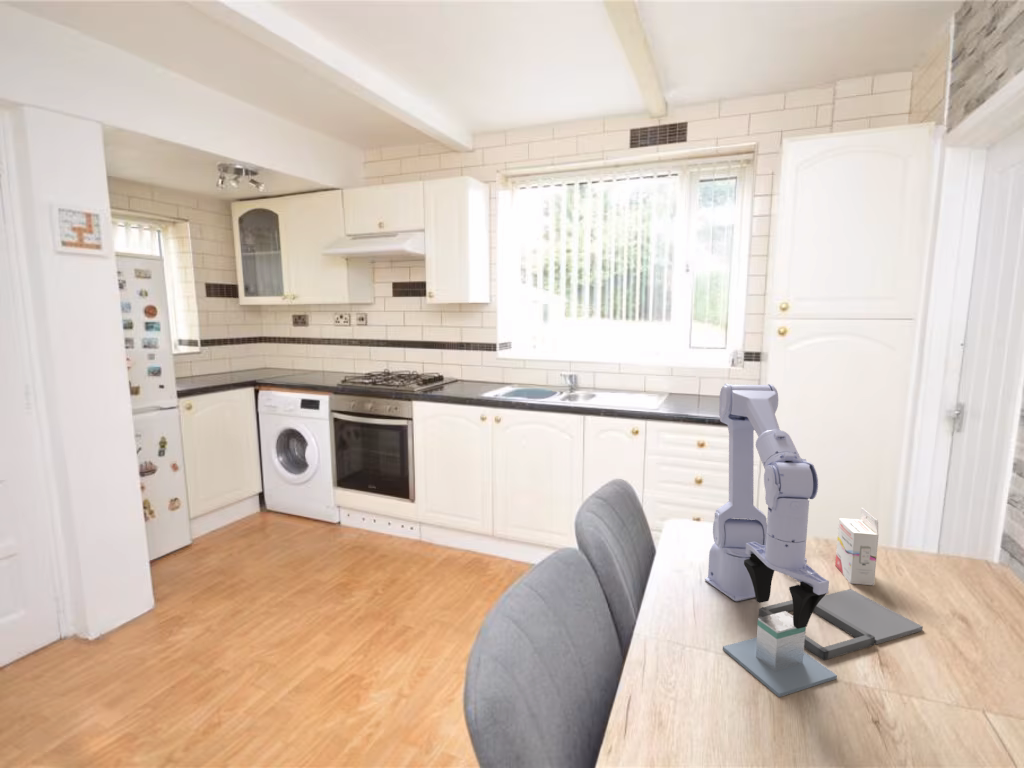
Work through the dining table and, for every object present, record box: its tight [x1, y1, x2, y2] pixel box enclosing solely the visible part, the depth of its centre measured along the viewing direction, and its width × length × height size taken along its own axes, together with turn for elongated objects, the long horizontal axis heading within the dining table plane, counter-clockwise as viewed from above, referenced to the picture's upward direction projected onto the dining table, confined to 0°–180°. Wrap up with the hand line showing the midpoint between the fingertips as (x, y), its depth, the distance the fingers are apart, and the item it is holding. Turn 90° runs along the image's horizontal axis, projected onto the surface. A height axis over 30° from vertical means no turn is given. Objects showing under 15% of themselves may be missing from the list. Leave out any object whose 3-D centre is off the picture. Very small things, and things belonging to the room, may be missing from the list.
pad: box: [722, 636, 838, 698], centre depth 86 cm, size 12×12×1 cm
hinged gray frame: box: [758, 588, 924, 661], centre depth 97 cm, size 14×24×2 cm, turn 109°
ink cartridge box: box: [834, 507, 879, 586], centre depth 114 cm, size 9×5×15 cm, turn 168°
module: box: [756, 611, 807, 672], centre depth 85 cm, size 4×6×7 cm, turn 109°
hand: (780, 613), depth 85 cm, fingers open, 7 cm apart
